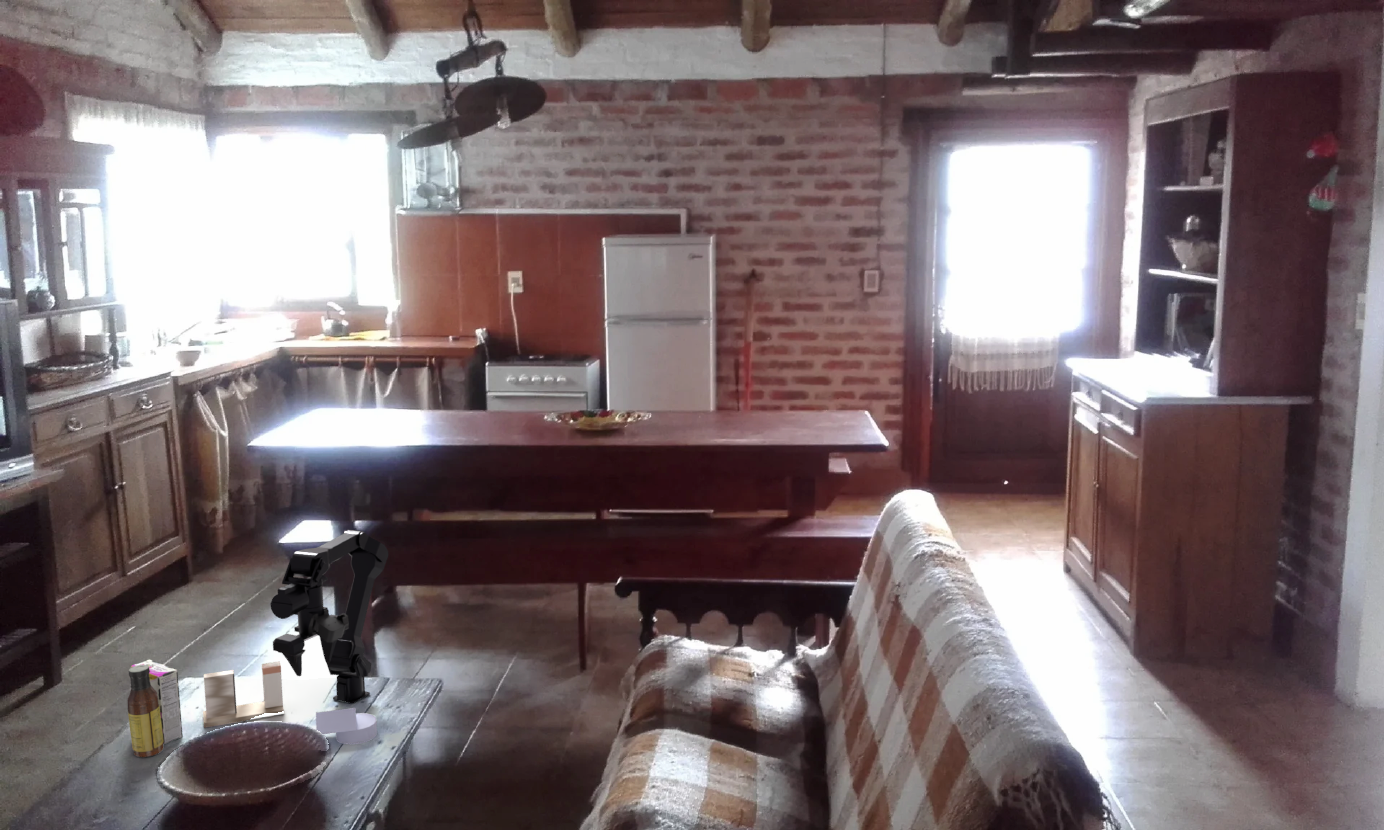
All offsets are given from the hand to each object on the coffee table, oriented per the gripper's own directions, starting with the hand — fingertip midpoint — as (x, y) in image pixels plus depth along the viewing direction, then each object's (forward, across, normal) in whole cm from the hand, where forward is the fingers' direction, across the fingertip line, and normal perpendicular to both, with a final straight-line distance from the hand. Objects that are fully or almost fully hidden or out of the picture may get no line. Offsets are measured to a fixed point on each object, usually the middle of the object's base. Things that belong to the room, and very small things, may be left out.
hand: (313, 668), depth 256 cm
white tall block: (+12, 0, +14) cm, 18 cm away
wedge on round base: (+13, -3, -12) cm, 18 cm away
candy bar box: (+13, -21, +27) cm, 37 cm away
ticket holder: (+13, -5, +18) cm, 23 cm away
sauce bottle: (+13, -28, +22) cm, 38 cm away
